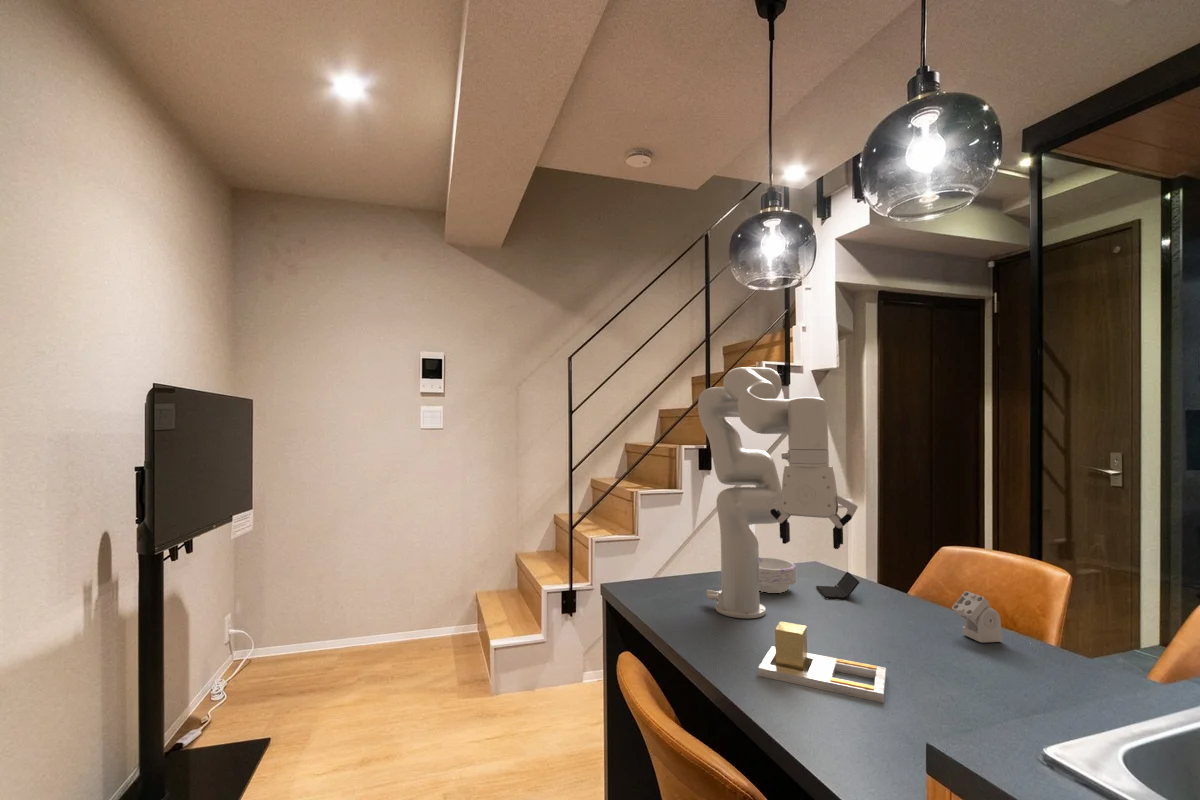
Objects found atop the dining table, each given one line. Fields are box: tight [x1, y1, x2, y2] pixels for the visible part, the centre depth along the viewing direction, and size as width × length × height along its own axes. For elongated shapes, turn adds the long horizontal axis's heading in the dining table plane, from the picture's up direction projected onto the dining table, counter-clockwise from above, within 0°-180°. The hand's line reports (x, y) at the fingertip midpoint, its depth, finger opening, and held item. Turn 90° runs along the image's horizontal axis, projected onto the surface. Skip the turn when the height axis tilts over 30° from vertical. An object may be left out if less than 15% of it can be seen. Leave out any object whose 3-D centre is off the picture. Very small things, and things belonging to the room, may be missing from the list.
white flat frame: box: [757, 646, 887, 704], centre depth 102 cm, size 21×12×2 cm, turn 61°
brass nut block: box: [774, 621, 809, 672], centre depth 105 cm, size 5×5×8 cm
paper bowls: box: [759, 556, 797, 594], centre depth 160 cm, size 15×15×8 cm
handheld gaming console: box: [815, 571, 861, 601], centre depth 155 cm, size 12×7×10 cm
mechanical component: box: [951, 590, 1003, 643], centre depth 121 cm, size 5×8×10 cm
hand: (810, 545), depth 108 cm, fingers open, 9 cm apart
